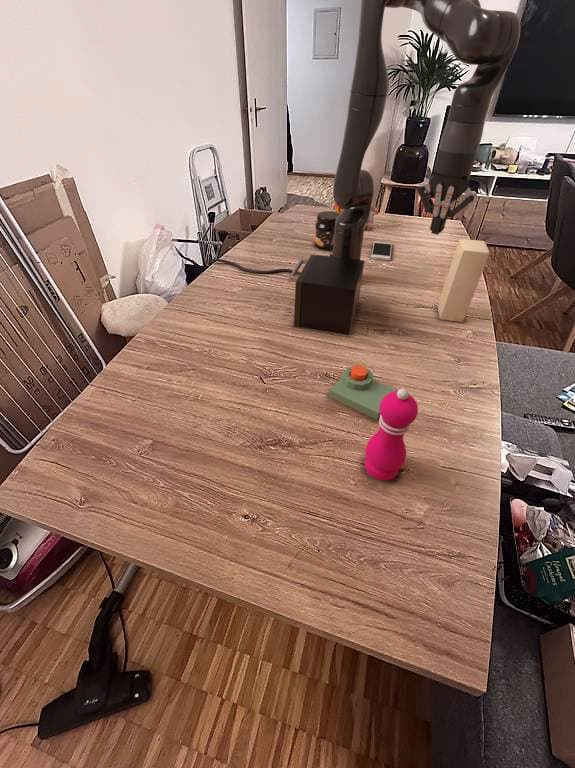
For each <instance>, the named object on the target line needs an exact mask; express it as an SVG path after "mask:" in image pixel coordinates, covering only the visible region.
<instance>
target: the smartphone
mask: <svg viewBox="0 0 575 768" xmlns="http://www.w3.org/2000/svg"><path fill="white" fill-rule="evenodd" d="M392 247H393V243H392V242H387V241H376V240H375V241H373V245H372V249H371V254H370V259H373V260H381V261H391V256H392V249H393V248H392Z"/></svg>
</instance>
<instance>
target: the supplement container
mask: <svg viewBox="0 0 575 768" xmlns="http://www.w3.org/2000/svg"><path fill="white" fill-rule="evenodd" d="M339 215H340V213H338V212H336V211H335V210H323V211H320V212H318V213H317V214H316V221H315V223H314V242H313V243H314V246H315V247H316V248H317V249H319V250H321V251H333V243H334V232H335V222H336V219H337V217H338V216H339Z"/></svg>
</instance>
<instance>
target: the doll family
mask: <svg viewBox="0 0 575 768" xmlns="http://www.w3.org/2000/svg"><path fill="white" fill-rule="evenodd" d="M343 210H344V209H341V208H339V207H338V206H337V205H336V203H335V204H333V205H332V207H331V211H334V212H338V213H340V214H341V213H342V212H343ZM379 214H380V212H379V210H378V208H377V206H375V205H374V202H372V205H371V210H370V215H369V219H368V221H367V223H366V225H367V226H366V225H365V230H367V231H371V230H372V228H371V227H372V225H373V224H374V221H375V219H374V218H375V217H374V216H377V215H379Z"/></svg>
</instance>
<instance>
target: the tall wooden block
mask: <svg viewBox="0 0 575 768" xmlns="http://www.w3.org/2000/svg"><path fill="white" fill-rule="evenodd" d="M489 256H490V250H489V248H488V246H487V244H486V242H485V241H484V240H476V239H464V238H460V239H459V240H458V243H457V246H456V249H455V252H454V254H453V257H452V261H451V264H450V267H449V270H448V273H447V276H446V279H445V282H444V286H443V288H442V290H441V291H442V292H441V294H440V298H439V300H438V303H437V311H438V317H439V320H441V321H449V322H456V323H457V322H458V323H463V322H464V321H465V317H466V315H467V312H468V310H469V307H470V304H471V303H472V300H473V298H474V294H475V292H476V290H477V287H478V285H479V282H480V279H481V276H482V274H483V272H484V269H485V267H486V264H487V262H488V260H489Z"/></svg>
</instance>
